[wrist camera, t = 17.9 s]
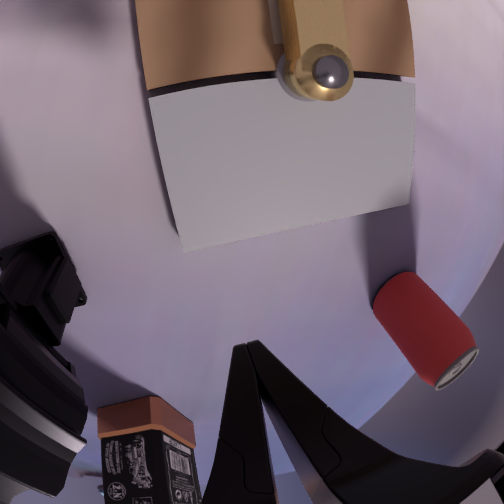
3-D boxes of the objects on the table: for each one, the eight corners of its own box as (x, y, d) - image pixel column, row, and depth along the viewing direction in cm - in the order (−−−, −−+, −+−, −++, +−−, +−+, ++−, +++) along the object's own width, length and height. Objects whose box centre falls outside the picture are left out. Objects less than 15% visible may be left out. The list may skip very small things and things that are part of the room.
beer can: (396, 261, 27) (473, 342, 17) (424, 276, 30) (489, 344, 20) (359, 310, 29) (420, 397, 19) (391, 318, 32) (445, 391, 22)
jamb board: (182, 242, 20) (184, 254, 19) (145, 66, 13) (142, 63, 12) (397, 197, 23) (409, 205, 21) (400, 57, 16) (415, 58, 15)
